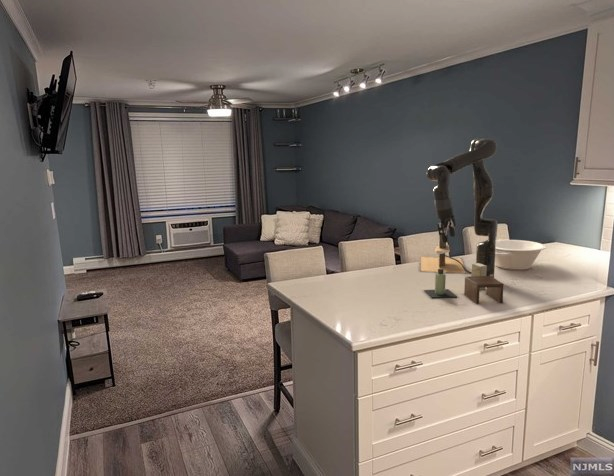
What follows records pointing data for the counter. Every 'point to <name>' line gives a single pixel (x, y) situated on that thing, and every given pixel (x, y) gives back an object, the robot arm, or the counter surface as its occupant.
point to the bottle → (440, 282)
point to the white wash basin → (516, 254)
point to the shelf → (479, 282)
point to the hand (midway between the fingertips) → (449, 239)
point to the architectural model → (442, 261)
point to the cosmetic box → (479, 270)
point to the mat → (447, 295)
